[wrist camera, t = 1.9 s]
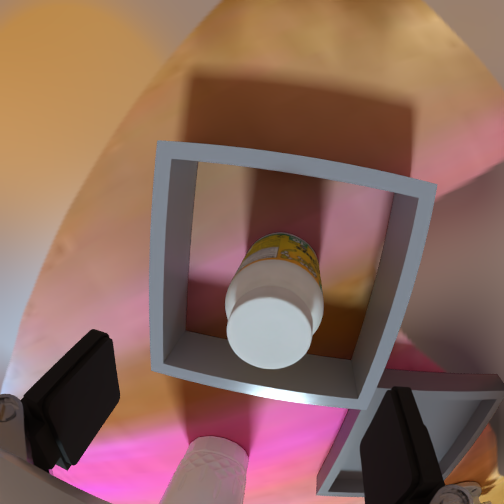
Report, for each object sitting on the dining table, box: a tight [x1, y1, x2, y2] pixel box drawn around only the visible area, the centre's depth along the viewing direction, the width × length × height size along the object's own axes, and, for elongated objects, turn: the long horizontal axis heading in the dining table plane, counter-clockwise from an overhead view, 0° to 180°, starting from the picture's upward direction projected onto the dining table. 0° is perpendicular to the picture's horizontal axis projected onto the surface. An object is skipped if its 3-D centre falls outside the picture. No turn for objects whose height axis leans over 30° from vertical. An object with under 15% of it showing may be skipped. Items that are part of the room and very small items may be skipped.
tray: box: [316, 369, 504, 497], centre depth 25 cm, size 15×17×3 cm
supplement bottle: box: [225, 232, 324, 369], centre depth 19 cm, size 5×5×10 cm
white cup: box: [159, 436, 249, 504], centre depth 26 cm, size 8×8×10 cm
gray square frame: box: [149, 141, 437, 410], centre depth 21 cm, size 16×16×5 cm
